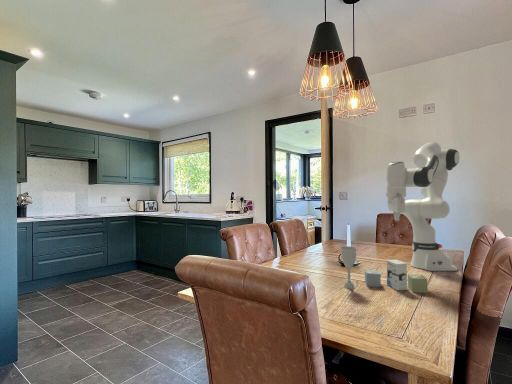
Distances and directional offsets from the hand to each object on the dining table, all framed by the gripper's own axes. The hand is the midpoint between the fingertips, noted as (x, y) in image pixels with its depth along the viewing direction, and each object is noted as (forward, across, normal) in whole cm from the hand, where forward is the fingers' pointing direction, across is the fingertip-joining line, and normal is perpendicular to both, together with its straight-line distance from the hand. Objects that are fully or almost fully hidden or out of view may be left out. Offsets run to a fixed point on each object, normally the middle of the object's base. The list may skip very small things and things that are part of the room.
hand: (396, 220), depth 147 cm
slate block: (+29, -15, +14) cm, 35 cm away
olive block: (+29, -19, -4) cm, 35 cm away
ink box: (+29, -17, +4) cm, 34 cm away
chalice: (+29, -21, +25) cm, 44 cm away
